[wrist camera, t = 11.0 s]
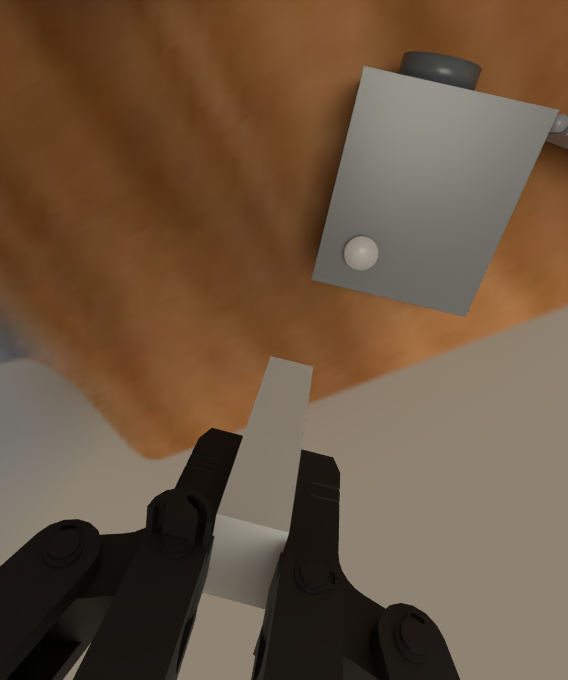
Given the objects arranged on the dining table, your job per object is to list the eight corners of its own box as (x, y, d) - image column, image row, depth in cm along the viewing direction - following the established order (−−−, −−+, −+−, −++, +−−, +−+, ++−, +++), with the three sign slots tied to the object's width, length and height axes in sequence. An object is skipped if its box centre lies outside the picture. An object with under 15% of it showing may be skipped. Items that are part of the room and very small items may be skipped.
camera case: (366, 55, 32) (372, 31, 24) (536, 94, 31) (599, 81, 23) (318, 252, 39) (310, 283, 31) (455, 285, 38) (482, 324, 31)
